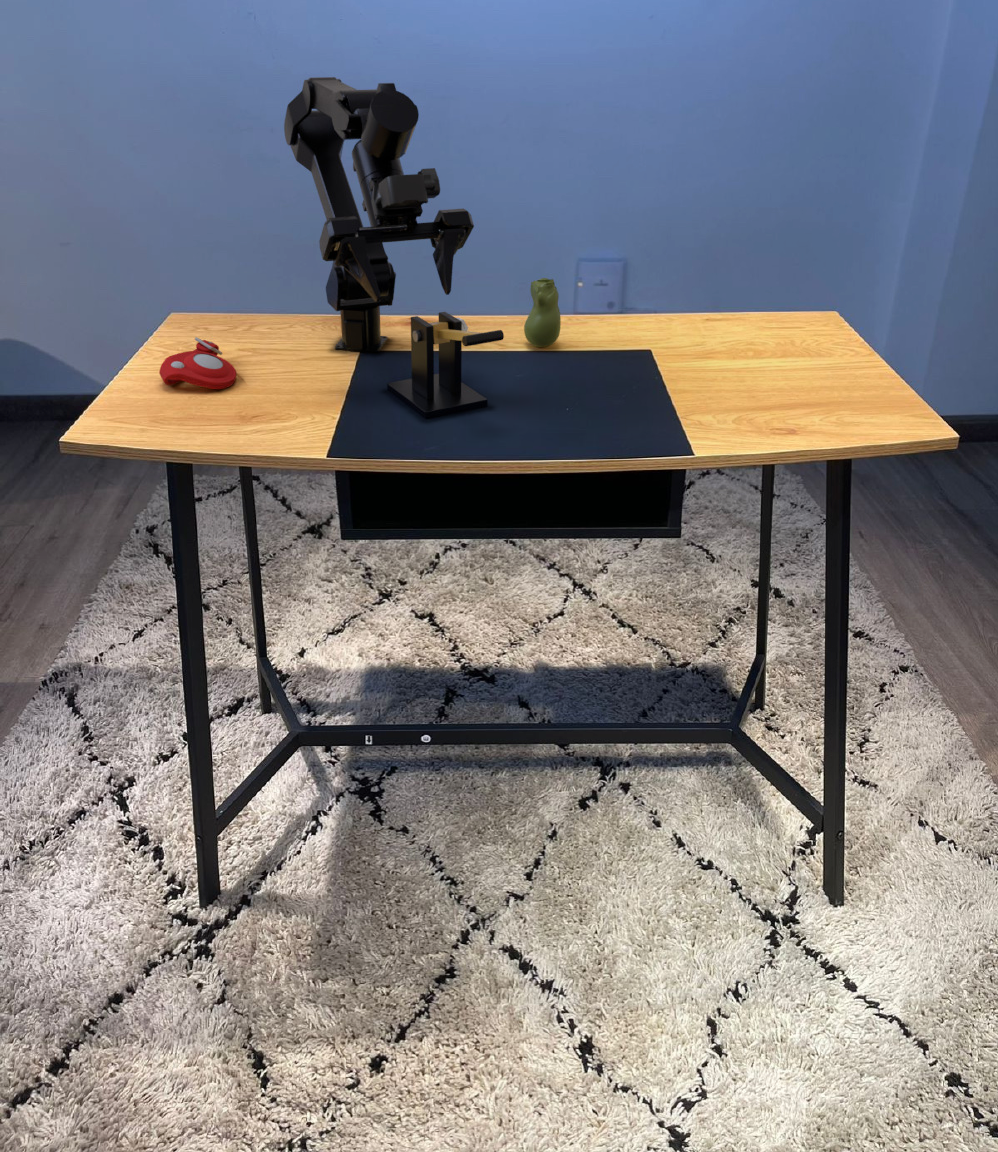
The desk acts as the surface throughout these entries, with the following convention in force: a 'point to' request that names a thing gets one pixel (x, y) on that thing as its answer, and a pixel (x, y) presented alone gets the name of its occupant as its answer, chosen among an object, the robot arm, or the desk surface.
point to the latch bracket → (435, 390)
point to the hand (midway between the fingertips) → (413, 296)
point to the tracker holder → (199, 367)
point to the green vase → (543, 314)
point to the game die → (463, 325)
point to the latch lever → (463, 335)
